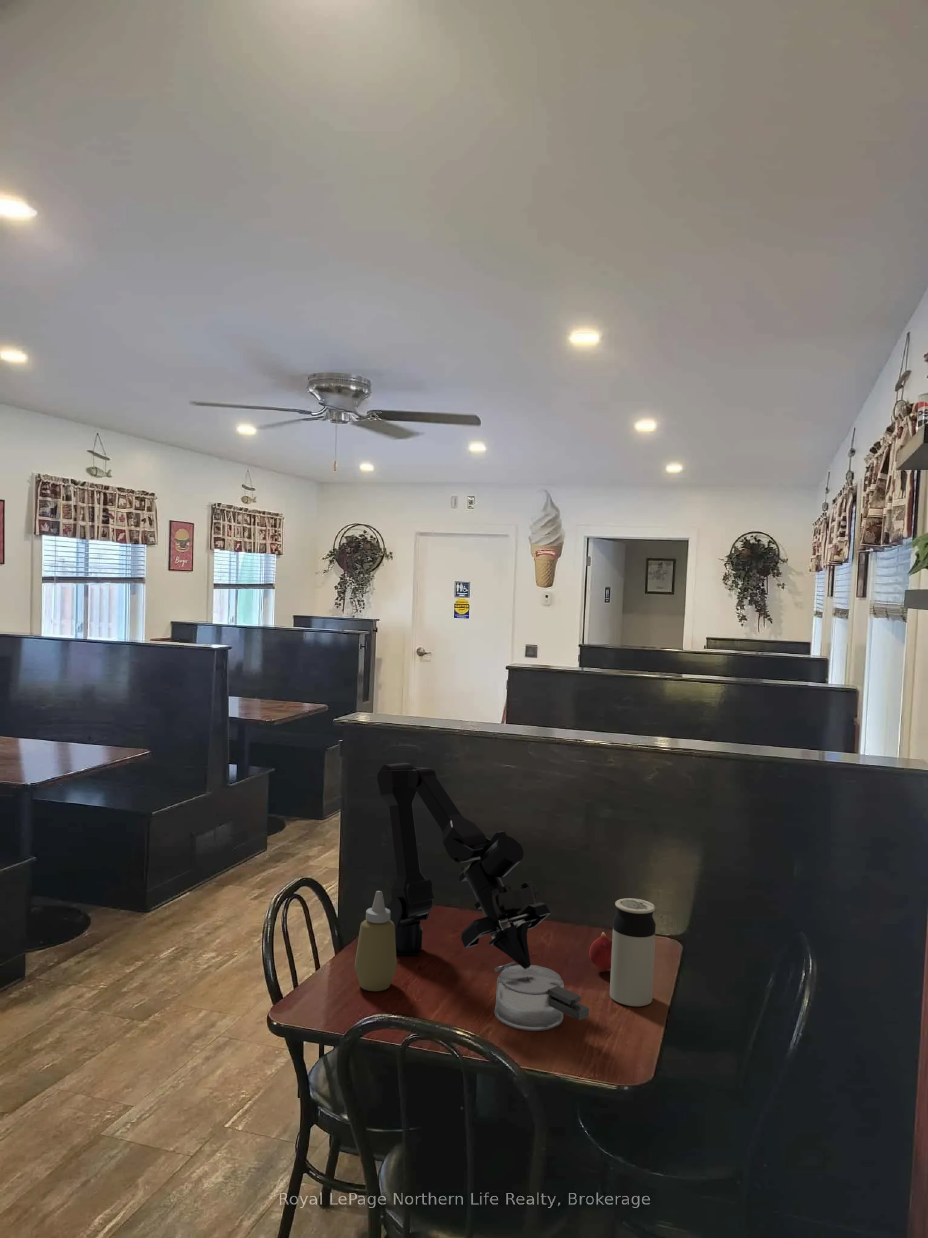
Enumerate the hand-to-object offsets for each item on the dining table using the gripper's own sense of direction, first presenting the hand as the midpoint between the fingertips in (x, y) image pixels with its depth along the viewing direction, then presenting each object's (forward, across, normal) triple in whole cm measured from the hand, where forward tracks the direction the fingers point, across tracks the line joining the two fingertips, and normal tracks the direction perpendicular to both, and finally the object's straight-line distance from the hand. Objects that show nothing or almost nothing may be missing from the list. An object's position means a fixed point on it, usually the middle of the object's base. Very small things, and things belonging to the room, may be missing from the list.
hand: (527, 967), depth 154 cm
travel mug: (+12, +21, 0) cm, 24 cm away
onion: (+4, +26, +8) cm, 28 cm away
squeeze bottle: (-12, -15, +24) cm, 31 cm away
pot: (+9, 0, +3) cm, 9 cm away
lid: (+3, 0, 0) cm, 3 cm away
